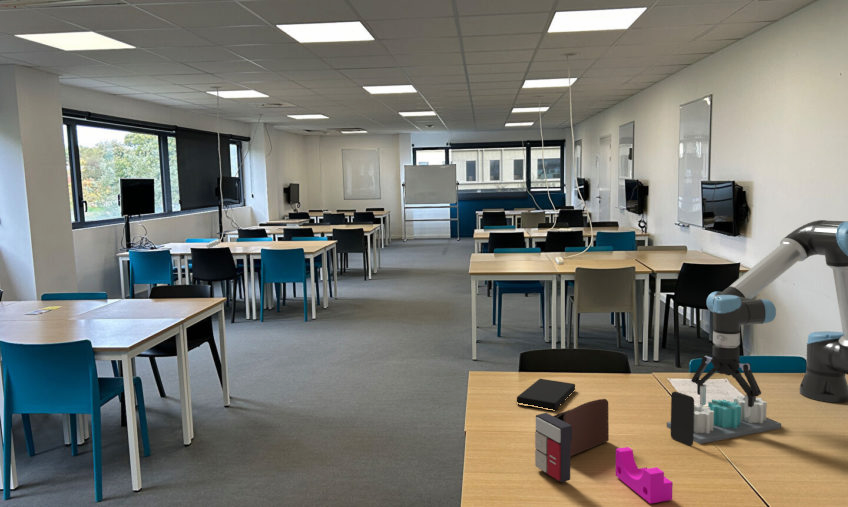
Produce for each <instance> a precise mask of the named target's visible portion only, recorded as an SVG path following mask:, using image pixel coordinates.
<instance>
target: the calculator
mask: <svg viewBox="0 0 848 507" xmlns="http://www.w3.org/2000/svg"><path fill="white" fill-rule="evenodd" d="M534 439H535V440H534V442H535V443H534V447H535V450H534V452H535V453H534V458H535V459H534V461H535V462H534V463H535V464H534V465H535V467H536V468H537V469H539V470H541V471H542V472H544V473H546V474H547V475H548V476H550V477H552V478H554V479H555V480H557V481H558V482H559V483H564V482H567V481H570V480H571V456H570V443H571V441H572V426H571V425H570V424H568V423H566V422H564V421H562V420H560V419H558V418H556V417H554V415H551V414H550V413H547V412H544V413H540V414H539V413H538V414H536V415H535V433H534Z"/></svg>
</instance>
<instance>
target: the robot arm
mask: <svg viewBox="0 0 848 507" xmlns="http://www.w3.org/2000/svg"><path fill="white" fill-rule="evenodd" d="M816 255H819V256H824V257H825V259H824V260H825V264H826V266H828V268H830V269H832V273H833V279H834V285H835V292H836V293H835V294H836V298H837V304H838V312H839V318H840V323H841V329H842V331H826V330H825V331H813V332H810V333H809V334H808V335H807V336H808V337H807V342H806V365H805V366H806V370H805V374H804V375H803V378H802V381H801V383H800V385H799V393H800V394H801V395H802V396H804V397H806V398H808V399H812V400H816V401H820V402H825V403H826V402H827V403H845V402H848V381H847V378H846V375H848V221H843V220H827V219H826V220H825V219H819V220H814V221H811V222H807V223H805V224H803V225H801V226H799V227H797V228H796V229H794V230H793V231H791V232H790V233H789V234H787V235H786V236H785V237H784V238H782V239H781V240H780V242H779V246H777V247H776V248H775V249H773V250H772V251H771V252H770V253H769V254H768V255H766V256H765V257H763V258H762V259H761V260H760V261H759V262H757V263H756V264H755V265H753V267H751V268H750V269H749V270H747V271H746V272H745V273H744V274H743V275H741V276H740V277H738V278H737V279H736V280H735V281H734V282H733V283H731V285H729V286H728V287H727V288H725V289H724V290H723V291H713V292H711V293H710V294H708V296H707V298H706V307H707V309H708V310H709V311H710V312H712V315H713V318H712V319H713V320H712V322H713V324H712V328H713V329H712V330H713V331H712V343H713V345H712V357H711V356H709V355H705V356H703V357H701V363H700V365H699V366H698V367H697V370H696V371H695V373H694V375H693V376H692V378H691V382H692V383H695V384H696V386H697V389H696V390H697V391H696V392H697V395H699V405H700V406H704V407H705V405H706V404H707V385H706V384H705V383H706V382H707V381H708V380H709V379H710V378H712V376H714V375H715V374H716V373H717V372H718V374H720V375H726V376H732V378H733V379H735V381H736V382H737V383H738V385H739V386H740V387H741V389H742V390H743V391H744V393H745V395H747V396H745V395H744V396H745V411H744V417H746V418H747V417H749V416H750V413H751V407H753V406H754V396H755V397H756V398H758V397H759V396H760V395H762V391H761V389H760V387H759V384H758V382H757V380H756V378H755V376H754V374H753V372H752V368H751V363H749V362H747V363H741V362H740V353H741V352H740V344H741V326H748V325H758V324H759V325H763V324H767V323H771V322H773V321H774V320H775V318H776V316H777V314H776V313H777V309H776V306H775V304H774V303H773V302H772V301H771V300H770V299H767V298H766V299H761V298H759V299H753V298H754V297H756V296H757V295H758V294H760V293H761V292H762V291H763V290H764V289H765V288H767V287H768V286H769V285H771V283H773V282H775V280H776V279H778V278H779V277H780V276H782V275H783V274H784V273H786V271H788V270H790V268H791V267H793V266H794V265H795V264H797V262H804V261H805V260H807V259H808V258H809V257H811V256H816ZM710 363H711V364H712V366H713V368H710V370H709V371H708V372H707V373H706V374H705V375H703V377H701V376H702V374H703V373H704V371H705V370H706V368H707V366H708V364H710ZM739 369H741V371H742V372H743V373H744V376H745V378H746V379H745V378H744V376H743V375H742V373H741V371H740V370H739ZM700 377H701V378H700Z"/></svg>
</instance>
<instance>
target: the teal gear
mask: <svg viewBox="0 0 848 507" xmlns="http://www.w3.org/2000/svg"><path fill="white" fill-rule="evenodd" d="M707 407H710V410H711V411H714V422H713V425H717V426H721V427H722V428H726V427H729V428H730V427H733V428H737V425H740V423H741V406H737V403H736V402H734V401H733V402H732V401H730V400H727V399H722V400H720V399H717V400H716V399H711V401H708V406H707Z"/></svg>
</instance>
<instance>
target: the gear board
mask: <svg viewBox="0 0 848 507" xmlns="http://www.w3.org/2000/svg"><path fill="white" fill-rule="evenodd" d="M745 396H747V394H745V395H739V394H738V395H737V397H733V402H736V403H737V406H741V423H740V425H737V428H733V427H730V428H729V427H726V428H722V427H721V426H717V425H713V422H714V411H711V410H710V407H708V406H705V405H704V406H700V403H699V404H698V403H696V404H694V434H693V442H695V443H697V444H698V445H702V444H707V443H712V442H718V441H722V440H728V439H733V438H738V437H743V436H748V435H753V434H754V435H755V434H757V433H758V434H759V433H764V432H767V431H773V430H778V429H781V428H782V423H781V422H779V421H776V420H774V419H771V418H769V417H767V408H768V405H767V404H768V403H767V402H768V401H767V400H766V401H764V400H763V398H761V397H756V396H754V406H753V407H751V413H750V416H749V417H747V418H746V417H744V411H745ZM666 427H667V428H668V429H670V430H671V421H666Z"/></svg>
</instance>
